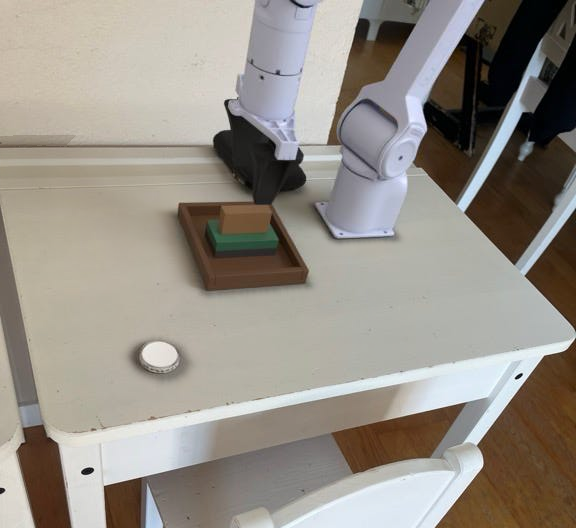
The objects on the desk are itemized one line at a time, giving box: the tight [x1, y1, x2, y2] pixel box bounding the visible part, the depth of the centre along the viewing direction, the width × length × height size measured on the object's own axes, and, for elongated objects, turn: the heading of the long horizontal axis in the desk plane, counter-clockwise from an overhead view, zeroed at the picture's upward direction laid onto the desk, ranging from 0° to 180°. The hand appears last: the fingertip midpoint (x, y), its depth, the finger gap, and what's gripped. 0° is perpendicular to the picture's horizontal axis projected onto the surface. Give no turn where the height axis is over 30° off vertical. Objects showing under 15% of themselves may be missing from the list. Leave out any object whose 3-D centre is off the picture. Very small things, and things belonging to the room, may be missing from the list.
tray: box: [177, 200, 310, 292], centre depth 78 cm, size 13×15×2 cm
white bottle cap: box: [139, 340, 181, 374], centre depth 63 cm, size 4×4×1 cm
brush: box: [205, 205, 279, 258], centre depth 76 cm, size 4×8×5 cm, turn 110°
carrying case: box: [212, 129, 307, 192], centre depth 91 cm, size 11×3×15 cm
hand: (252, 183), depth 72 cm, fingers open, 7 cm apart
